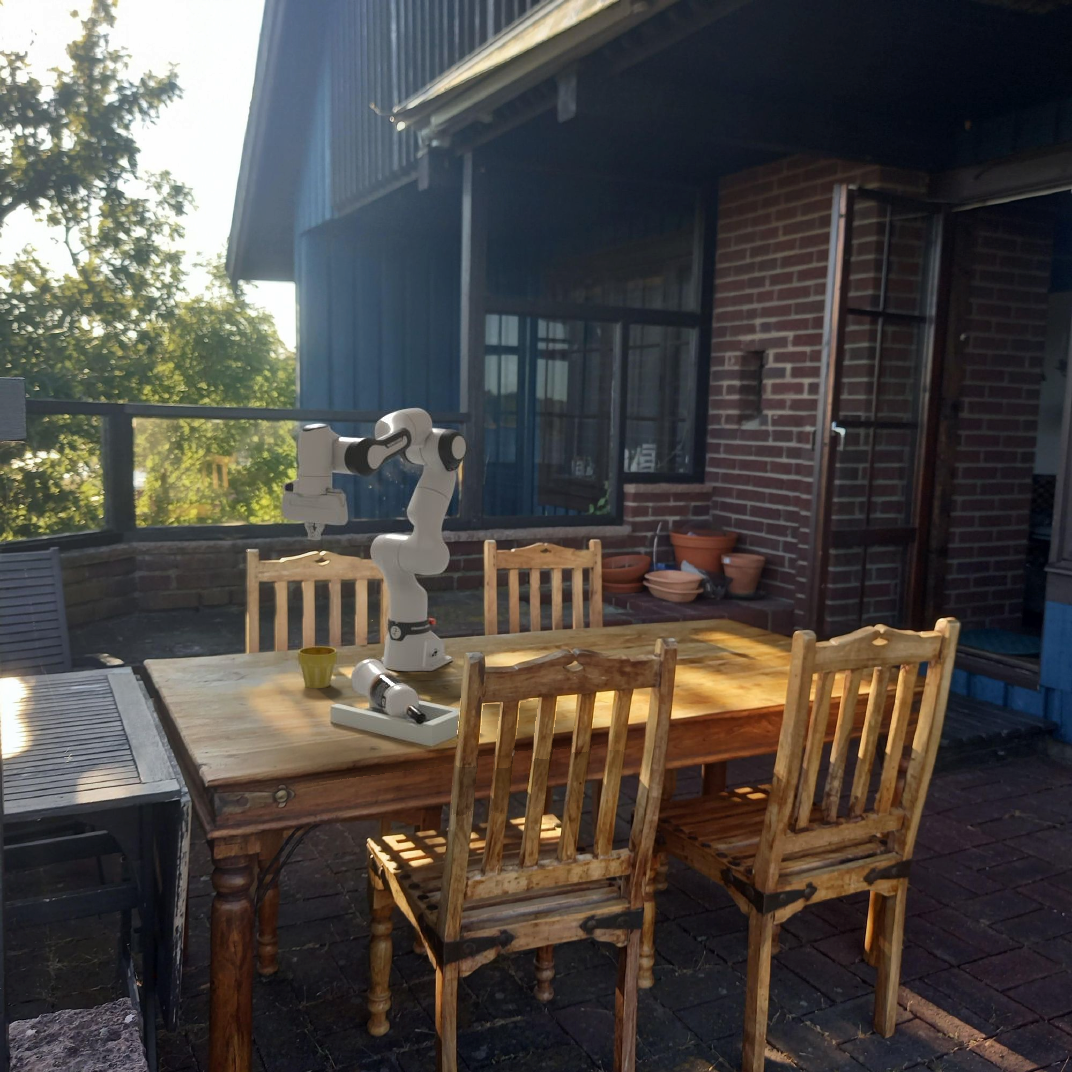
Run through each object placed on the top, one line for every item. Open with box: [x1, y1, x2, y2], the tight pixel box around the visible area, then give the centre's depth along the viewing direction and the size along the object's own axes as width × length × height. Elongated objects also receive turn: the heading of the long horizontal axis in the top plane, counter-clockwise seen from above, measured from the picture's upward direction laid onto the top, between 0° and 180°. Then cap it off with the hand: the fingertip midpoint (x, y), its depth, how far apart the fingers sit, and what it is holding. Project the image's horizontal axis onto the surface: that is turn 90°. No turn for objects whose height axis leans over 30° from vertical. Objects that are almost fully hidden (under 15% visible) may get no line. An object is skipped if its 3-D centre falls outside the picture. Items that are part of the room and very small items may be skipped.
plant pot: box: [297, 645, 338, 689], centre depth 284 cm, size 10×10×10 cm
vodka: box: [350, 658, 426, 724], centre depth 252 cm, size 9×9×30 cm
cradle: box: [329, 698, 461, 747], centre depth 251 cm, size 17×30×5 cm, turn 59°
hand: (314, 539), depth 272 cm, fingers closed
